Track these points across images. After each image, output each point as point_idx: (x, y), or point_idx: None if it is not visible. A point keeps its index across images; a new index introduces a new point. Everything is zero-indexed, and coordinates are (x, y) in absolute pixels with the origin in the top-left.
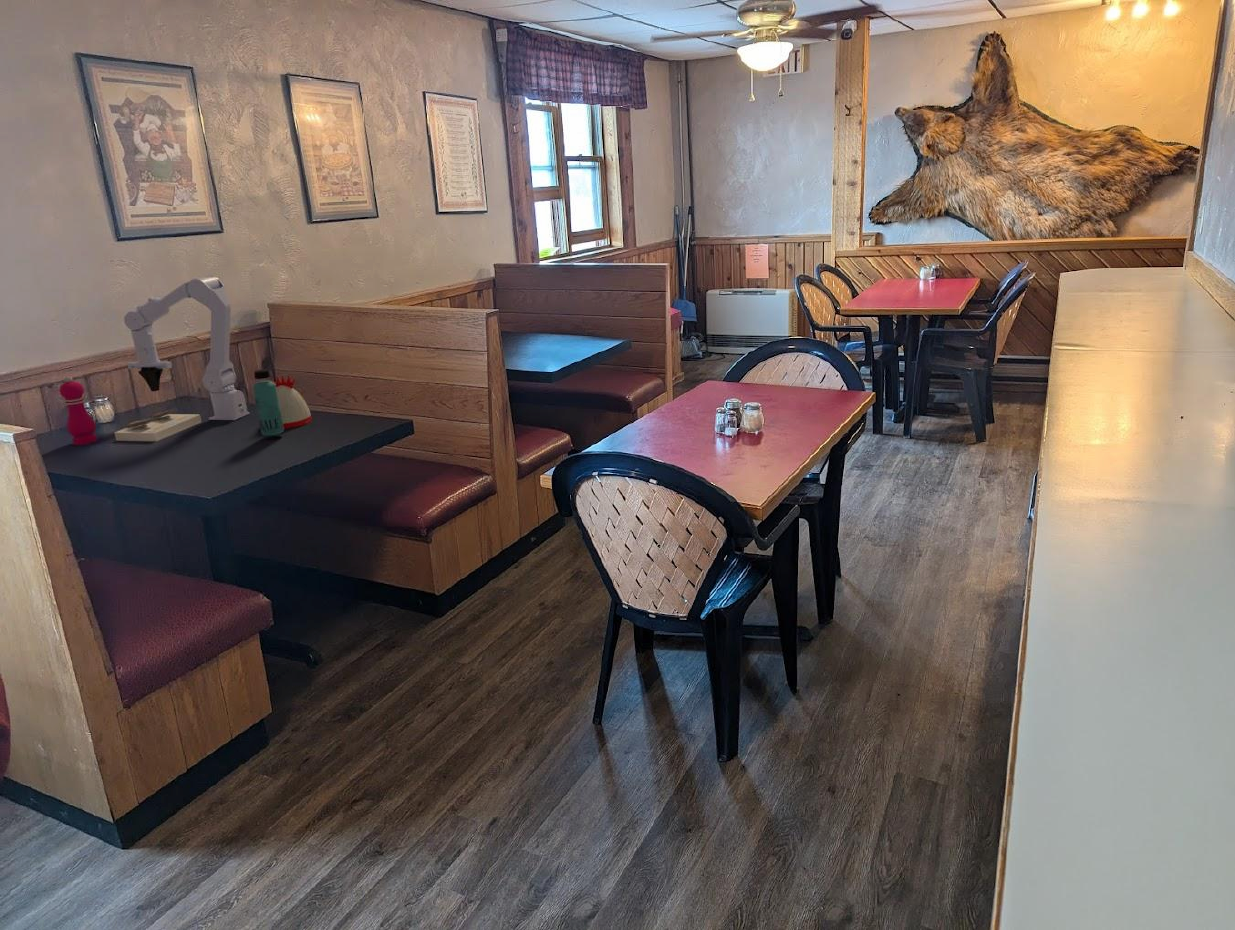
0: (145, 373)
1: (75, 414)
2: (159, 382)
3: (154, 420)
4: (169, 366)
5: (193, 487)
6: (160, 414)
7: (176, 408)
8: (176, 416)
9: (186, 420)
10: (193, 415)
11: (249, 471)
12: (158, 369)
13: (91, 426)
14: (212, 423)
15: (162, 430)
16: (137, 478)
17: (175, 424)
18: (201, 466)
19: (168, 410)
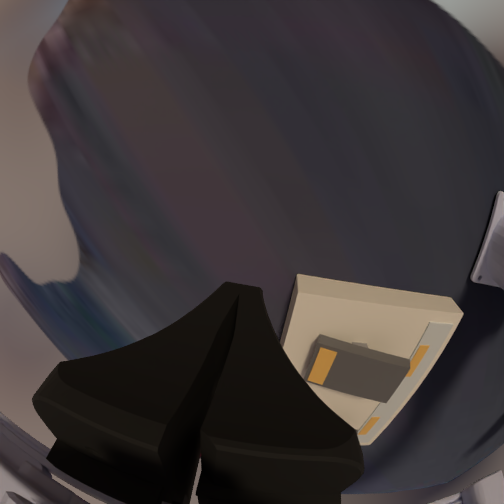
0: (191, 486)
1: None
2: (269, 323)
3: (356, 432)
4: (480, 501)
5: (437, 480)
6: (350, 391)
7: (408, 369)
8: (387, 334)
9: (429, 369)
10: (447, 330)
11: (482, 454)
12: (325, 501)
13: (200, 454)
14: (478, 311)
15: (381, 430)
16: (383, 488)
17: (405, 402)
18: (446, 462)
19: (373, 369)
